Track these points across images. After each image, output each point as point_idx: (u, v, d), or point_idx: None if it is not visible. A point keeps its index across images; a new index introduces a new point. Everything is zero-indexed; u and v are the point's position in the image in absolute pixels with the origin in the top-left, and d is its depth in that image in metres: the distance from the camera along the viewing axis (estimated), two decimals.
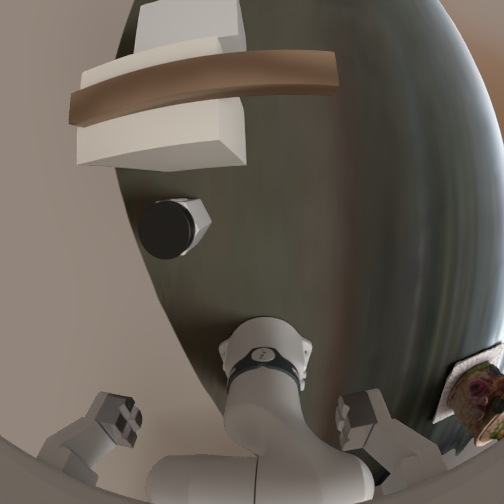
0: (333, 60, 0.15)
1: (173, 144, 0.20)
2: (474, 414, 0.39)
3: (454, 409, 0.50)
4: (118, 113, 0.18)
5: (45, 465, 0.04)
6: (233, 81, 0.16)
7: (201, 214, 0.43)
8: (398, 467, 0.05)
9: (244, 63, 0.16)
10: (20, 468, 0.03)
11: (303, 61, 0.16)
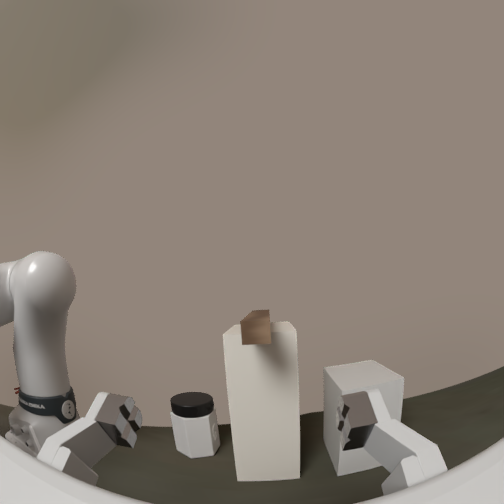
0: (261, 320, 0.28)
1: (227, 331, 0.40)
2: None
3: None
4: None
5: (45, 465, 0.04)
6: (249, 316, 0.35)
7: (197, 441, 0.40)
8: (398, 467, 0.05)
9: None
10: (20, 468, 0.03)
11: (260, 318, 0.30)
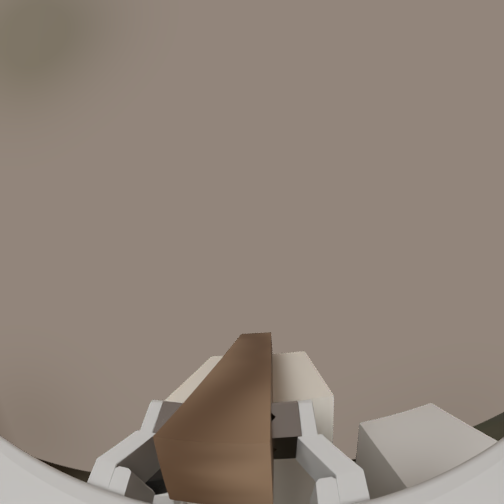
0: (236, 440, 0.05)
1: (183, 384, 0.18)
2: None
3: None
4: None
5: (45, 465, 0.04)
6: (218, 370, 0.13)
7: None
8: (315, 486, 0.05)
9: (246, 374, 0.12)
10: (20, 468, 0.03)
11: (237, 408, 0.08)
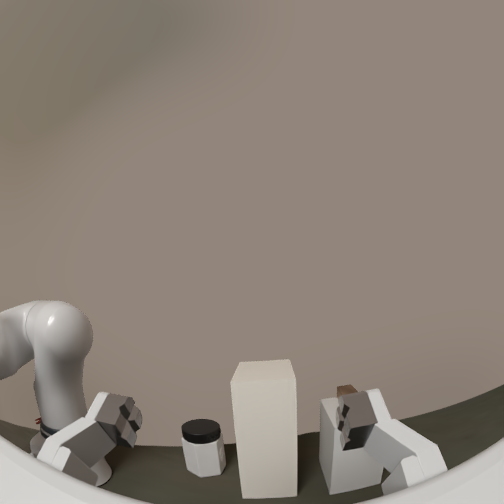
0: None
1: None
2: None
3: None
4: None
5: (45, 465, 0.04)
6: None
7: (206, 463, 0.42)
8: (398, 467, 0.05)
9: None
10: (20, 468, 0.03)
11: None
